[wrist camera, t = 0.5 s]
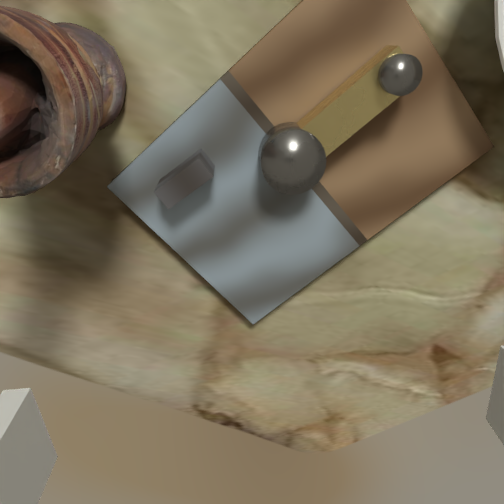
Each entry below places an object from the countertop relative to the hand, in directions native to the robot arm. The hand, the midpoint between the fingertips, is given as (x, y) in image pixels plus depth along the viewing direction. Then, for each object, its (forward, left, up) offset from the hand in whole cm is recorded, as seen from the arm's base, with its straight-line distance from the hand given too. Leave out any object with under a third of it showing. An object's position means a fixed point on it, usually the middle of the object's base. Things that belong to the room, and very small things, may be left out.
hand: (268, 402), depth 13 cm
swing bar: (+1, +7, -23) cm, 24 cm away
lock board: (+2, +4, -25) cm, 25 cm away
